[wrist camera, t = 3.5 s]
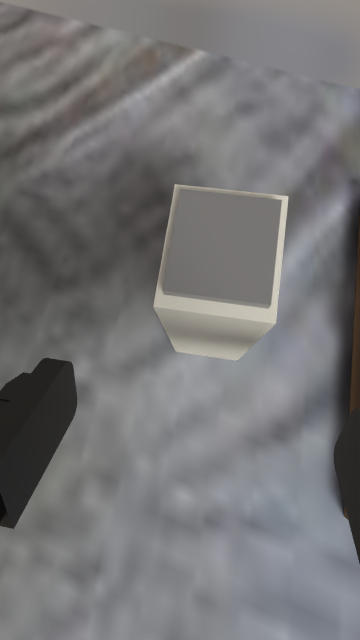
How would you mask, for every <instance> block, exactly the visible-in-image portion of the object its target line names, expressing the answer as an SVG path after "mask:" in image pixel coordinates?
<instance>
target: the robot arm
mask: <svg viewBox="0 0 360 640" xmlns="http://www.w3.org/2000/svg"><path fill="white" fill-rule="evenodd" d="M76 407H77V393H76V385H75V377H74V369H73V365H72V363H71V362H69V361H63V360H57V359H50V358H44V359H42V360H41V361H40V363H39V364H38V365H37V366H36V368H35V369H34V370H33V372H32V373H31V374H30V373H24V372H23V373H22V374H20V375H19V376H17V377H16V378H14V379H13V380H11V381H10V382H8V383H6V385H5V386H4V387H3V388H2V389H1V391H0V526H3V527H8V528H13V529H14V527H15V526H16V524H17V522H18V520H19V518H20V516H21V514H22V513H23V511H24V509H25V507H26V505H27V503H28V501H29V500H30V498H31V496H32V494H33V492H34V490H35V488H36V487H37V485H38V483H39V481H40V479H41V477H42V475H43V474H44V472H45V470H46V468H47V466H48V464H49V462H50V461H51V459H52V457H53V455H54V453H55V451H56V449H57V448H58V446H59V444H60V442H61V440H62V438H63V436H64V435H65V433H66V431H67V429H68V427H69V425H70V423H71V422H72V420H73V417H74V415H75V412H76ZM334 464H335V469H336V473H337V477H338V481H339V485H340V489H341V492H342V496H343V500H344V504H345V508H346V512H347V516H348V520H349V524H350V528H351V532H352V536H353V539H354V543H355V547H356V551H357V555H358V559H359V563H360V409H359V408H355V409H354V410H353V411H352V412H351V414H350V416H349V418H348V420H347V422H346V424H345V426H344V428H343V430H342V432H341V434H340V436H339V438H338V440H337V443H336V445H335V450H334Z"/></svg>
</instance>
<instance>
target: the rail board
mask: <svg viewBox="0 0 360 640" xmlns="http://www.w3.org/2000/svg"><path fill="white" fill-rule="evenodd" d="M355 408H359V409H360V212H359V232H358V251H357V271H356V291H355V311H354V331H353V351H352V371H351V391H350V410H349V416H350V414H351V412H352V411H353V410H354V409H355ZM344 517H345V518H347V519H348V516H347V512H346V508H345V510H344Z"/></svg>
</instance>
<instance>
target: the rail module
mask: <svg viewBox="0 0 360 640" xmlns="http://www.w3.org/2000/svg"><path fill="white" fill-rule="evenodd" d="M287 206H288V196H280V195H271V194H261V193H252V192H243V191H234V190H224V189H215V188H206V187H196V186H187V185H178V184H175V187H174V193H173V198H172V204H171V210H170V215H169V221H168V226H167V232H166V238H165V243H164V249H163V254H162V260H161V266H160V271H159V277H158V282H157V288H156V294H155V299H154V305H153V307H154V309H155V311H156V313H157V315H158V317H159V319H160V321H161V323H162V325H163V327H164V329H165V331H166V333H167V335H168V337H169V339H170V341H171V343H172V345H173V347H174V349H175V351H176V352H182V353H189V354H195V355H202V356H209V357H215V358H222V359H229V360H235V361H237V360H238V359H239V358H240V357H241V356H242V355H243V354H245V353H246V352H247V351H248V350H249V349H250V348H251V347H252V346H253V345H254V344H255V343H256V342H257V341H258V340H259V339H260V338H261V337H262V336H263V335H264V334H265V333H267V332H268V331H269V330H270V329H271V328H272V327H273V326H274V325H275V324H276V316H277V306H278V296H279V286H280V276H281V266H282V256H283V246H284V236H285V226H286V216H287Z"/></svg>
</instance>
